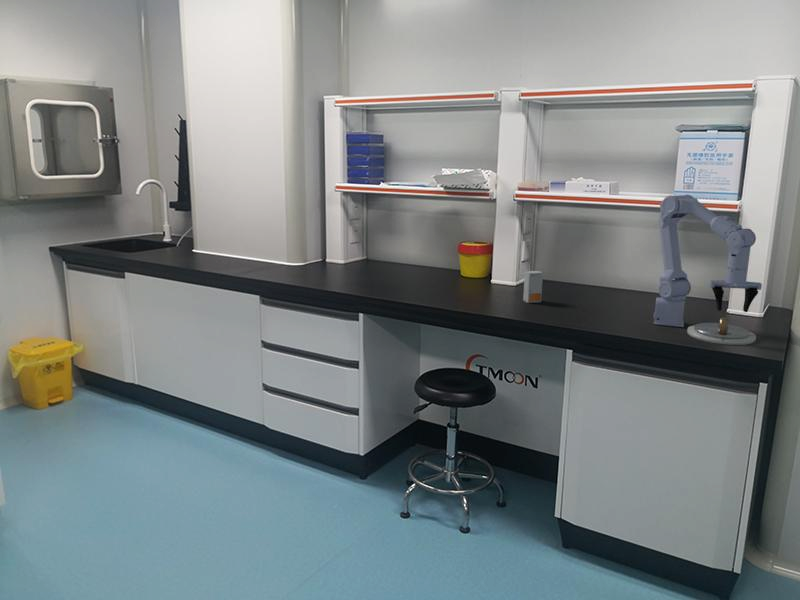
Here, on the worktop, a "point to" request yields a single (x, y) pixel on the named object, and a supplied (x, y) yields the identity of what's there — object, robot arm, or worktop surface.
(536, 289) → the skincare box
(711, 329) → the dial
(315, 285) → the worktop surface
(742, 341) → the dial plate
